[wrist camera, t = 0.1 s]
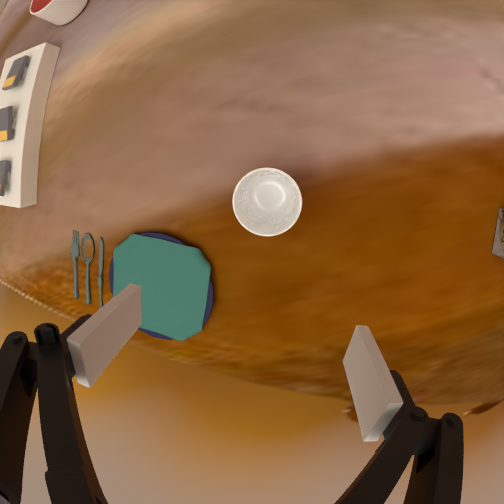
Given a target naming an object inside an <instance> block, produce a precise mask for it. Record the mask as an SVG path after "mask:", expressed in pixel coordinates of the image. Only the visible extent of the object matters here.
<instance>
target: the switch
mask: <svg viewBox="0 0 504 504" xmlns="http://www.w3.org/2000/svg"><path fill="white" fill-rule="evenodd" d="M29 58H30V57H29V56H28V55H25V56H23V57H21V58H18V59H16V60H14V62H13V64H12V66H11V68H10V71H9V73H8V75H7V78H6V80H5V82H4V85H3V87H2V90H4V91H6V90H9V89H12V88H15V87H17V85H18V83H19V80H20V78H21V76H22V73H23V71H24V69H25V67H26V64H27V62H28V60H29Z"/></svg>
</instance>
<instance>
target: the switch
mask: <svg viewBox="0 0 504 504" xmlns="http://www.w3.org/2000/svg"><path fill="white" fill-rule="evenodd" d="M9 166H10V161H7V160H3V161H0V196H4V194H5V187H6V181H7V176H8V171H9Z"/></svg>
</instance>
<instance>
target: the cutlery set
mask: <svg viewBox="0 0 504 504" xmlns="http://www.w3.org/2000/svg"><path fill="white" fill-rule="evenodd" d="M87 238H88V239H91V237H90V235H89V234H85V235H84V237H83V238H82V243H81V251H82V256H83V258H84V260H85V262H86V263H87V270H86V303H87V304H90V303H91V300H90V288H89V263H90V261H91V260H92V259H93V256H92V257H91V259H88V258H87V257H86V256H85V254H84V248H83V247H84V242H85V240H86V239H87ZM91 241H92V239H91ZM92 243H93V241H92ZM93 250H94V245H93ZM71 255H72V257H73V258H72V260H73V266H74V298H75V299H78V298H79V294H78V270H77V260H78V258H77V256H80V253H79V232H77V233H76V231H75V238H74V230H73V240H72V250H71ZM93 255H94V251H93ZM103 260H104V243H103V239H102V237H100V242H99V275H98V276H97V277H98V281H97V282H98V285H99V294H100V307H99V308H102V307H103V306H102V284H103V280H102V278H103V275H102V272H103ZM210 271H211V267H210V264H209V262H208V261H207V260H206V258H205V257H204V255H203V253H202V252H201V250H200V249H197V248H194V247H189V246H187V245H186V244H184V243H183V242H182V241H181V240H179V239H176V238H174V237H171V236H169V235H166V234H164V233H149V232H145V233H142V234H139V235H137V234H131V235H130V236H129V237H127V238H126V239H125V240H124V241H123V242H122V243H120V244H119V245H118V246H117V247H116V248H115V249H114V254H113V258H112V260H111V266H110V272H109V280H110V287H111V292H112V295H113V297H114V296H116V295H117V294H118V293H119V292H120V291H122V290H123V289H124V288H125V287H126V286H127V285H129V284H130V283H132V284H136V285H140V286H141V316H142V324H141V325H140V326H139V328H138V329H139V330H140V331H142V332H144V333H147V334H149V335H151V336H153V337H156V338H161V339H167V340H174V339H176V340H180V341H182V340H185V339H187V338H189V337H190V336H193V335H194V334H197V333H198V332H201V331H202V326H203V325H204V324H205V322H206V321H207V320H208V318H209V315H210V312H211V309H212V306H213V286H212V283H211V280H210Z"/></svg>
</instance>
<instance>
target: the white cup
mask: <svg viewBox="0 0 504 504" xmlns="http://www.w3.org/2000/svg"><path fill="white" fill-rule="evenodd" d="M301 208H302V196H301V192H300V189H299V187H298V185H297V184H296V182H295V181H294V180H293V179H292V178H291V177H290V176H289V175H288V174H287V173H285V172H283V171H281V170H278V169H275V168H259V169H256V170H253V171H251V172H249V173H248V174H246V175H245V176H244V177H243V178H242V179H241V180H240V181H239V183H238V184H237V186H236V188H235V190H234V194H233V209H234V213H235V215H236V217H237V219H238V221H239V222H240V223H241V225H242V226H243V227H244V228H246V229H247V230H248V231H250V232H252V233H254V234H257V235H261V236H275V235H278V234H281V233H283V232H285V231H287V230H288V229H290V228H291V227H292V226H293V225H294V224H295V222H296V221H297V219H298V217H299V215H300V212H301Z"/></svg>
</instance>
